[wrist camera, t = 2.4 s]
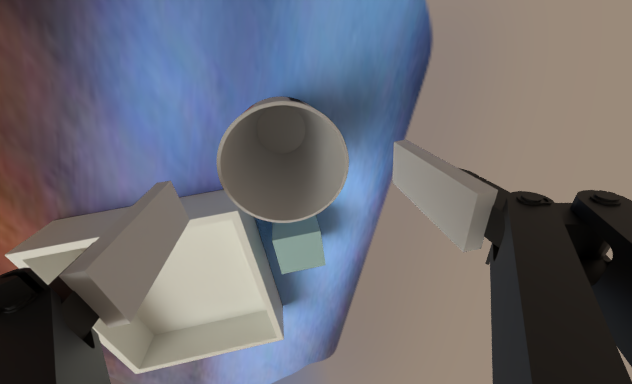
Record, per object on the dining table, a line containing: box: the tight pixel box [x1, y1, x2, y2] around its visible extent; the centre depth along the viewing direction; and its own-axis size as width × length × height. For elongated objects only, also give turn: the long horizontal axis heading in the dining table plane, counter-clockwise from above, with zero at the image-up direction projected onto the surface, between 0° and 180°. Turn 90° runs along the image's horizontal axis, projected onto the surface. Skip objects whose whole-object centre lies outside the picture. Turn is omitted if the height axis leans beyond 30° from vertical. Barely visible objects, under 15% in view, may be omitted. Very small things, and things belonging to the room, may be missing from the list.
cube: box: [272, 215, 325, 274], centre depth 27 cm, size 5×5×5 cm
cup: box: [217, 97, 349, 223], centre depth 19 cm, size 8×8×10 cm
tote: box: [5, 189, 284, 374], centre depth 28 cm, size 22×20×5 cm
